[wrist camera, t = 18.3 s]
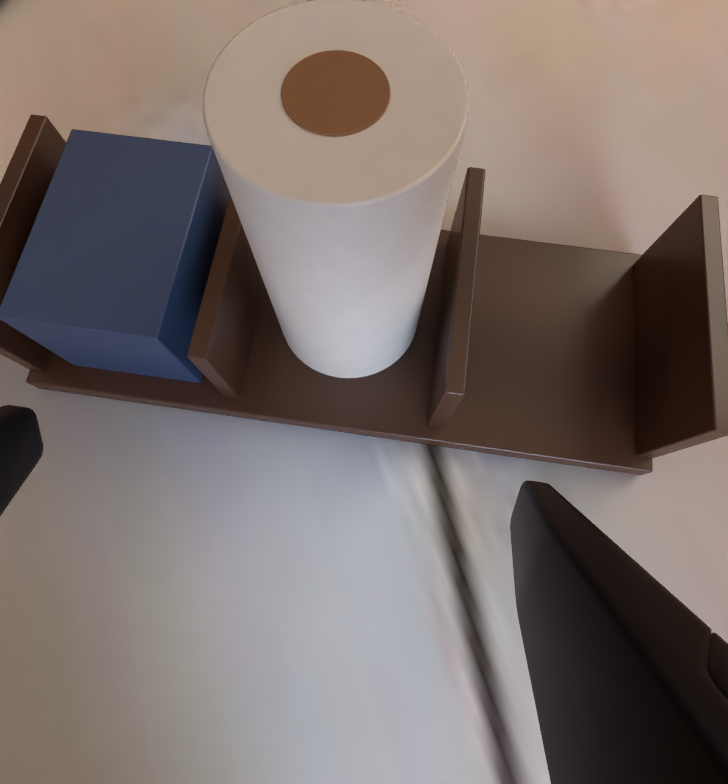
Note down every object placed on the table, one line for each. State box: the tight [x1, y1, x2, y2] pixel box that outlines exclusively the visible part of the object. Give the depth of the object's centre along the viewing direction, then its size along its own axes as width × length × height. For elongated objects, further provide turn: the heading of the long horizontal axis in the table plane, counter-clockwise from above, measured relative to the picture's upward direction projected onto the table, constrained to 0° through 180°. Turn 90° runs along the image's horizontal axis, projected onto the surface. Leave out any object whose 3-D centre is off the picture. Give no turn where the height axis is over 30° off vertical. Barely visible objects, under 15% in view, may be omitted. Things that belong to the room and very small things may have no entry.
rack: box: [0, 115, 728, 475], centre depth 18 cm, size 9×23×5 cm, turn 82°
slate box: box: [0, 129, 230, 383], centre depth 18 cm, size 7×5×4 cm
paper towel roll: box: [203, 0, 469, 378], centre depth 15 cm, size 5×5×10 cm
